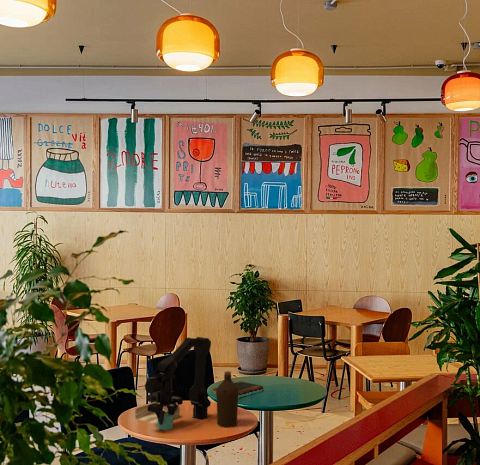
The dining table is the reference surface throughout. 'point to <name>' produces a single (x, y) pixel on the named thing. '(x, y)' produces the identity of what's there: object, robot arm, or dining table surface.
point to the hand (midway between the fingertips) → (165, 422)
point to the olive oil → (227, 402)
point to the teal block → (166, 422)
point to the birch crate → (152, 414)
